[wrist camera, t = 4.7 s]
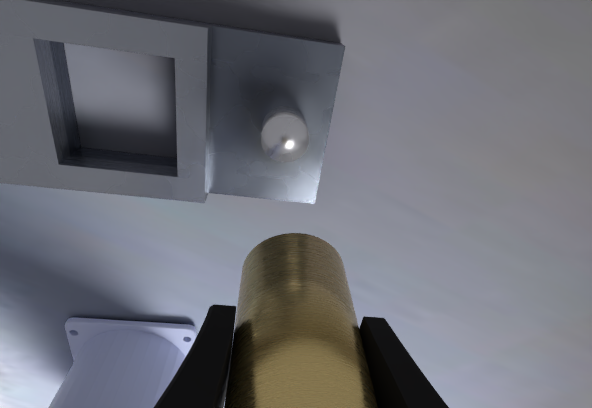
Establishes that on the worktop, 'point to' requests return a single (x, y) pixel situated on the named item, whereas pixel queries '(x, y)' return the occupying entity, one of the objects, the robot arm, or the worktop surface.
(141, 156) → the studded plate with cutout
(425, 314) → the worktop surface
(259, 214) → the worktop surface
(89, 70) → the worktop surface
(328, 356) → the brass pin
